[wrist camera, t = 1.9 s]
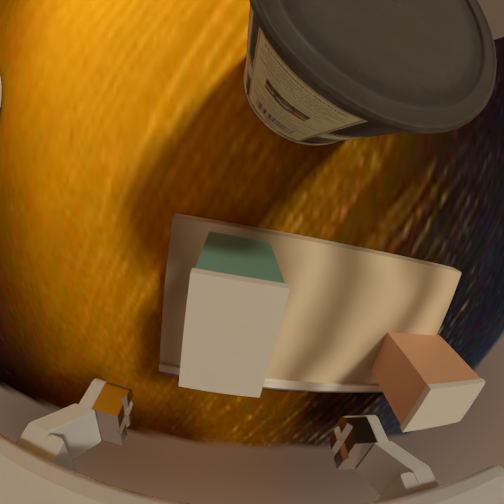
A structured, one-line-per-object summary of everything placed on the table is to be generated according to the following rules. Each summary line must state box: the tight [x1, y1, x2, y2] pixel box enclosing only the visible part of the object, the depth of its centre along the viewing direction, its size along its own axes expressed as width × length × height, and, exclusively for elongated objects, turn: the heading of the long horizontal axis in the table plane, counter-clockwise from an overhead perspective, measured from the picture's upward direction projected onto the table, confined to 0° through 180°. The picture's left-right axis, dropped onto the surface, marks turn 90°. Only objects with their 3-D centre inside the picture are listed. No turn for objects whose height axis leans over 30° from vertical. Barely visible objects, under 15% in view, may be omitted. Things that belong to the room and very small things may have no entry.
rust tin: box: [371, 332, 485, 432], centre depth 22 cm, size 5×7×8 cm
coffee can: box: [244, 0, 497, 145], centre depth 13 cm, size 10×10×14 cm
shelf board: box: [159, 213, 462, 393], centre depth 25 cm, size 26×14×2 cm, turn 79°
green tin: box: [179, 231, 290, 398], centre depth 19 cm, size 5×7×8 cm
